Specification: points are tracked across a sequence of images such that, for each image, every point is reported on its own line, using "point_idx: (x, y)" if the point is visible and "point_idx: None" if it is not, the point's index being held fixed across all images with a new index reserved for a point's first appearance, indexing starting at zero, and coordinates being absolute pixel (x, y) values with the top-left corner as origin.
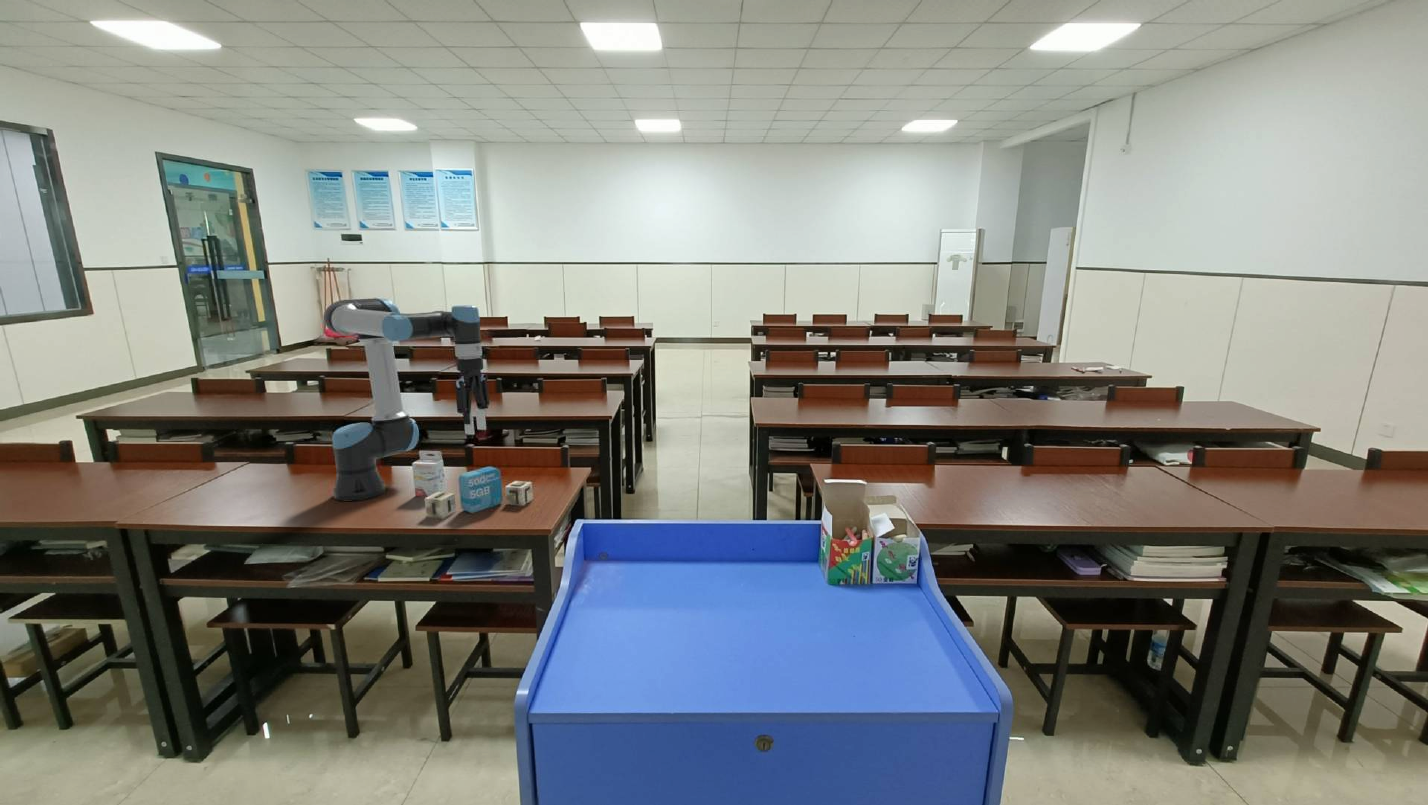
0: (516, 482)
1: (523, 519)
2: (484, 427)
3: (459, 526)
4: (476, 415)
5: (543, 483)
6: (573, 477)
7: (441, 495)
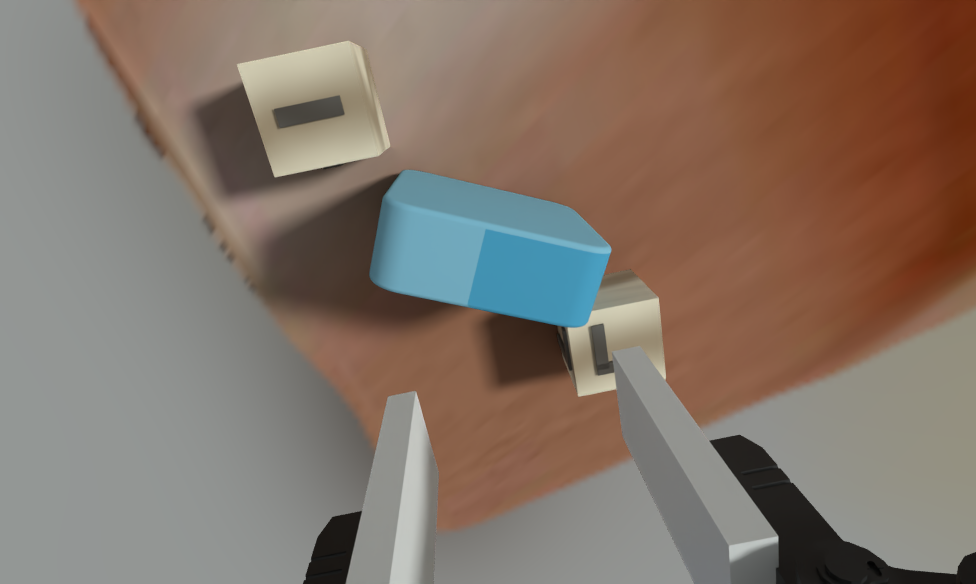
0: (638, 320)
1: (454, 446)
2: (630, 451)
3: (284, 294)
4: (679, 464)
5: (830, 246)
6: (933, 313)
7: (315, 121)
